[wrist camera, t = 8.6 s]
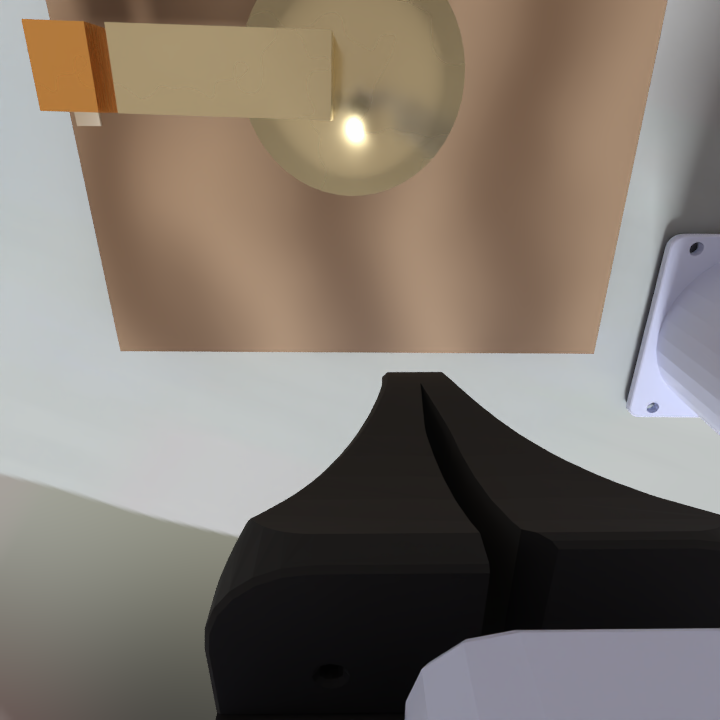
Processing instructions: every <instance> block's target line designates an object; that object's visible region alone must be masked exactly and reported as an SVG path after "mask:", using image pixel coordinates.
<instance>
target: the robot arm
mask: <svg viewBox="0 0 720 720" xmlns="http://www.w3.org/2000/svg"><path fill="white" fill-rule="evenodd" d="M696 242H697V243H698V247H697V249H696V250H695V251H694V252H693V253H690V247H691V245H693V244H694V243H696ZM654 402H655V404H654V405H653V406H652V407H651V408H647V406H648V405H649V404H651V403H654ZM626 408H627V409H628V411H629V412H630V413H631V414H632V415H633V416H636V417H700V418H701V419H702V420H704V421H705V422H706V423H707V424H708V425H709V426H710V427H711V428H712V429H713V430H714V431H716V432H717V433H718V434H719V435H720V234H678V235H675V236H674V237H672V238H671V239H670V240H669V241H668V242H667V245H666V247H665V251H664V255H663V259H662V263H661V267H660V271H659V275H658V279H657V283H656V287H655V291H654V295H653V299H652V303H651V307H650V311H649V315H648V319H647V323H646V327H645V331H644V335H643V339H642V343H641V347H640V351H639V355H638V359H637V363H636V367H635V371H634V375H633V379H632V383H631V387H630V391H629V395H628V400H627V404H626ZM205 652H206V657H207V663H208V668H209V673H210V678H211V684H212V689H213V694H214V699H215V705H216V710H217V716H216V720H720V515H719V514H715V513H712V512H708V511H705V510H701V509H698V508H694V507H691V506H687V505H684V504H680V503H676V502H673V501H669V500H666V499H662V498H659V497H656V496H653V495H649V494H647V493H644V492H641V491H638V490H635V489H633V488H630V487H627V486H624V485H621V484H619V483H616V482H614V481H611V480H609V479H606V478H604V477H601V476H599V475H596V474H594V473H592V472H589V471H587V470H585V469H583V468H581V467H579V466H576V465H574V464H572V463H570V462H568V461H566V460H564V459H562V458H560V457H558V456H556V455H554V454H552V453H550V452H548V451H547V450H545V449H543V448H542V447H540V446H538V445H536V444H535V443H533V442H531V441H529V440H528V439H526V438H525V437H523V436H521V435H520V434H518V433H517V432H515V431H514V430H512V429H511V428H510V427H508V426H507V425H505V424H504V423H503V422H501V421H500V420H498V419H497V418H496V417H494V416H493V415H492V414H490V413H489V412H488V411H487V410H485V409H484V408H483V407H482V406H480V405H479V404H478V403H477V402H476V401H474V400H473V399H472V398H471V397H470V396H468V395H467V394H466V393H465V392H464V391H463V390H462V389H461V388H459V387H458V386H457V385H456V384H455V383H454V382H453V381H452V380H450V379H449V378H448V377H447V376H446V375H445V374H443V373H442V372H387V373H386V374H385V375H384V376H383V377H382V387H381V390H380V393H379V395H378V398H377V400H376V402H375V404H374V406H373V408H372V410H371V413H370V414H369V416H368V418H367V419H366V421H365V423H364V424H363V426H362V427H361V429H360V430H359V432H358V434H357V435H356V436H355V438H354V439H353V440H352V442H351V443H350V444H349V446H348V447H347V448H346V449H345V450H344V451H343V453H342V454H341V455H340V456H339V457H338V458H337V459H336V460H335V461H334V462H333V463H332V464H331V465H330V466H329V467H328V468H327V469H326V470H325V471H324V472H323V473H322V474H321V475H320V476H319V477H317V478H316V479H315V480H314V481H313V482H311V483H310V484H309V485H307V486H306V487H305V488H303V489H302V490H300V491H299V492H297V493H296V494H295V495H293V496H291V497H290V498H288V499H287V500H285V501H283V502H281V503H279V504H278V505H276V506H274V507H272V508H270V509H268V510H267V511H265V512H263V513H261V514H259V515H257V516H255V517H253V518H251V519H250V520H249V521H248V522H247V524H246V525H245V527H244V529H243V531H242V533H241V534H240V536H239V538H238V540H237V542H236V544H235V546H234V548H233V550H232V552H231V554H230V556H229V558H228V561H227V563H226V565H225V567H224V570H223V572H222V574H221V577H220V580H219V582H218V585H217V588H216V591H215V595H214V598H213V602H212V605H211V609H210V612H209V616H208V619H207V623H206V627H205Z"/></svg>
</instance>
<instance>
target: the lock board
mask: <svg viewBox="0 0 720 720" xmlns="http://www.w3.org/2000/svg"><path fill="white" fill-rule="evenodd" d="M256 1H257V0H46V3H47V8H48V13H49V17H50V20H62V21H84V22H87V23H91V24H94V25H97V26H100V27H103V28H105V24H104V22H120V23H149V24H178V25H207V26H236V27H246V24H247V21H248V19H249V16H250V13H251V11H252V8H253V7H254V5H255V3H256ZM448 2H449V4H450V6H451V8H452V10H453V12H454V15H455V17H456V20H457V23H458V26H459V29H460V33H461V37H462V43H463V48H464V59H465V80H464V89H463V95H462V101H461V104H460V108H459V111H458V115H457V117H456V120H455V122H454V125H453V127H452V130H451V131H450V133H449V135H448V137H447V139H446V140H445V142H444V144H443V145H442V147H441V148H440V149H439V151H438V152H437V154H436V155H435V156H434V157H433V158H432V159H431V161H430V162H429V163H428V164H427V165H426V166H425V167H424V168H423V169H421V170H420V171H419V172H418V173H417V174H415V175H414V176H413V177H411V178H410V179H408V180H406V181H405V182H403V183H402V184H400V185H397V186H395V187H393V188H391V189H389V190H385V191H382V192H379V193H375V194H369V195H364V196H345V195H336V194H332V193H327V192H323V191H321V190H318V189H315V188H313V187H310V186H308V185H307V184H305V183H303V182H301V181H299V180H298V179H296V178H295V177H294V176H292V175H291V174H289V173H288V172H287V171H286V170H284V169H283V168H282V167H281V166H280V165H279V164H278V163H277V162H276V161H275V160H274V159H273V157H272V156H271V155H270V154H269V153H268V151H267V150H266V149H265V147H264V146H263V144H262V143H261V141H260V139H259V138H258V136H257V134H256V132H255V130H254V128H253V126H252V124H251V122H250V119H249V118H241V117H212V116H182V115H153V114H124V113H95V112H70V116H71V120H72V125H73V130H74V135H75V139H76V144H77V149H78V153H79V158H80V163H81V167H82V172H83V177H84V181H85V186H86V191H87V195H88V200H89V205H90V210H91V214H92V219H93V224H94V228H95V233H96V238H97V242H98V247H99V252H100V256H101V261H102V266H103V270H104V275H105V280H106V285H107V289H108V294H109V299H110V303H111V308H112V313H113V317H114V322H115V327H116V331H117V336H118V341H119V345H120V350H121V351H212V352H393V353H574V354H594V350H595V345H596V340H597V336H598V331H599V326H600V321H601V316H602V312H603V307H604V302H605V297H606V293H607V288H608V283H609V278H610V273H611V269H612V264H613V259H614V254H615V249H616V245H617V240H618V235H619V230H620V226H621V221H622V216H623V211H624V206H625V202H626V197H627V192H628V187H629V182H630V178H631V173H632V168H633V163H634V158H635V154H636V149H637V144H638V139H639V135H640V130H641V125H642V120H643V115H644V111H645V106H646V101H647V96H648V91H649V87H650V82H651V77H652V72H653V68H654V63H655V58H656V53H657V48H658V44H659V39H660V34H661V29H662V24H663V20H664V15H665V10H666V5H667V0H448Z"/></svg>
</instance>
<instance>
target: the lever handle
mask: <svg viewBox="0 0 720 720" xmlns="http://www.w3.org/2000/svg"><path fill="white" fill-rule="evenodd" d="M22 24H23V29H24V33H25V38H26V43H27V48H28V53H29V58H30V62H31V67H32V72H33V77H34V82H35V87H36V91H37V96H38V101H39V106H40V111H66V112H95V113H124V114H153V115H182V116H212V117H241V118H249V119H250V122H251V124H252V126H253V128H254V130H255V132H256V134H257V136H258V138H259V139H260V141H261V143H262V144H263V146H264V147H265V149H266V150H267V151H268V153H269V154H270V155H271V156H272V157H273V159H274V160H275V161H276V162H277V163H278V164H279V165H280V166H281V167H282V168H283V169H284V170H286V171H287V172H288V173H289V174H291V175H292V176H294V177H295V178H296V179H298V180H299V181H301V182H303V183H305V184H307V185H308V186H310V187H313V188H315V189H318V190H321V191H323V192H327V193H332V194H336V195H345V196H364V195H369V194H375V193H379V192H382V191H385V190H389V189H391V188H393V187H395V186H397V185H400V184H402V183H403V182H405V181H406V180H408V179H410V178H411V177H413V176H414V175H415V174H417V173H418V172H419V171H420V170H421V169H423V168H424V167H425V166H426V165H427V164H428V163H429V162H430V161H431V159H432V158H433V157H434V156H435V155H436V154H437V152H438V151H439V149H440V148H441V147H442V145H443V144H444V142H445V140H446V139H447V137H448V135H449V133H450V131H451V130H452V127H453V125H454V122H455V120H456V117H457V115H458V111H459V108H460V104H461V101H462V95H463V89H464V80H465V59H464V48H463V43H462V37H461V33H460V29H459V26H458V23H457V20H456V17H455V15H454V12H453V10H452V8H451V6H450V4H449V2H448V0H257V1H256V3H255V5H254V7H253V8H252V11H251V13H250V16H249V19H248V21H247V24H246V27H236V26H207V25H178V24H149V23H120V22H104V24H105V28H103V27H100V26H97V25H94V24H91V23H87V22H84V21H62V20H33V19H22Z"/></svg>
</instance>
